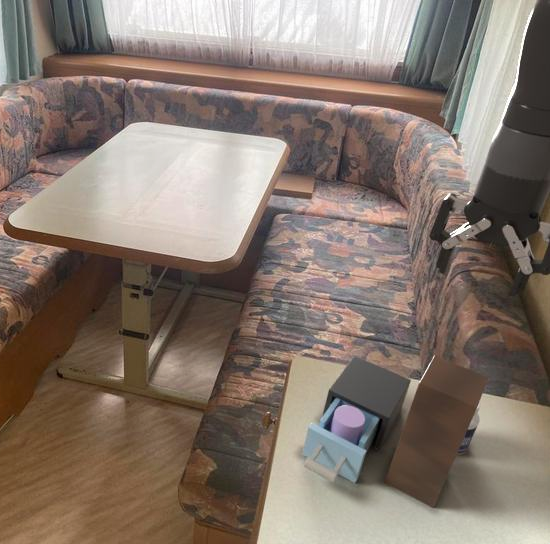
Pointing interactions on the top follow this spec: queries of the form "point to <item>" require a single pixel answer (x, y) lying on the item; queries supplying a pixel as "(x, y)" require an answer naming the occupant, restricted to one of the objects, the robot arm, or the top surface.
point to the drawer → (337, 446)
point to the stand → (435, 429)
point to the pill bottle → (469, 432)
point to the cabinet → (371, 392)
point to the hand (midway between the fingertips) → (476, 282)
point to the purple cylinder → (348, 423)
